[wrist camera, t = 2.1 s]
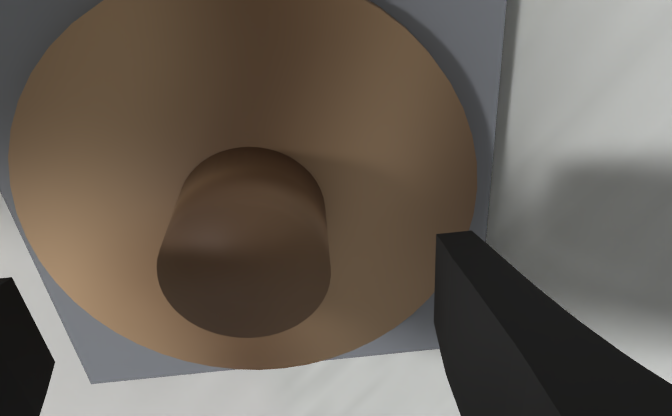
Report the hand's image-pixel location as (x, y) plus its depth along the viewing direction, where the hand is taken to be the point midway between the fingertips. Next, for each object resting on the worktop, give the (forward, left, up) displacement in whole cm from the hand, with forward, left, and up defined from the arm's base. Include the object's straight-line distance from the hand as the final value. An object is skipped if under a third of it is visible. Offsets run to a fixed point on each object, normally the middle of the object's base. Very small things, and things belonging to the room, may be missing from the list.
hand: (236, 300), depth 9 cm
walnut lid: (0, 0, -4) cm, 4 cm away
